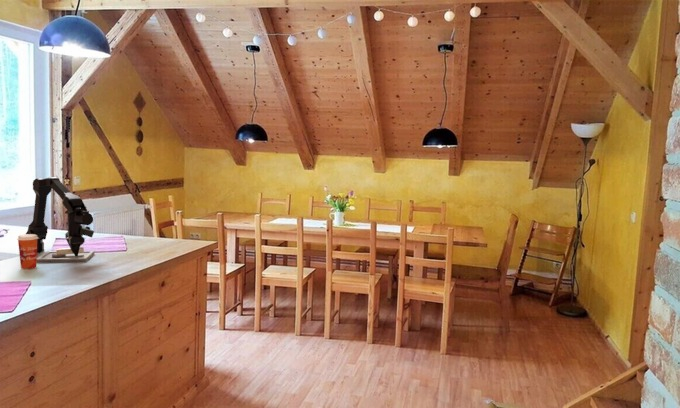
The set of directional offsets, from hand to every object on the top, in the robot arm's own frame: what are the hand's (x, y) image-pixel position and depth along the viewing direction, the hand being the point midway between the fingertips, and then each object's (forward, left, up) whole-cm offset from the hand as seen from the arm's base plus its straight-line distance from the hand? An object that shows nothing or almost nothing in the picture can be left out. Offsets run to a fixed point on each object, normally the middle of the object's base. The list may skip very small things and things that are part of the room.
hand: (75, 254), depth 248 cm
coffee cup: (-17, -12, -3) cm, 21 cm away
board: (-6, +6, -3) cm, 9 cm away
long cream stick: (-5, +5, -2) cm, 7 cm away
